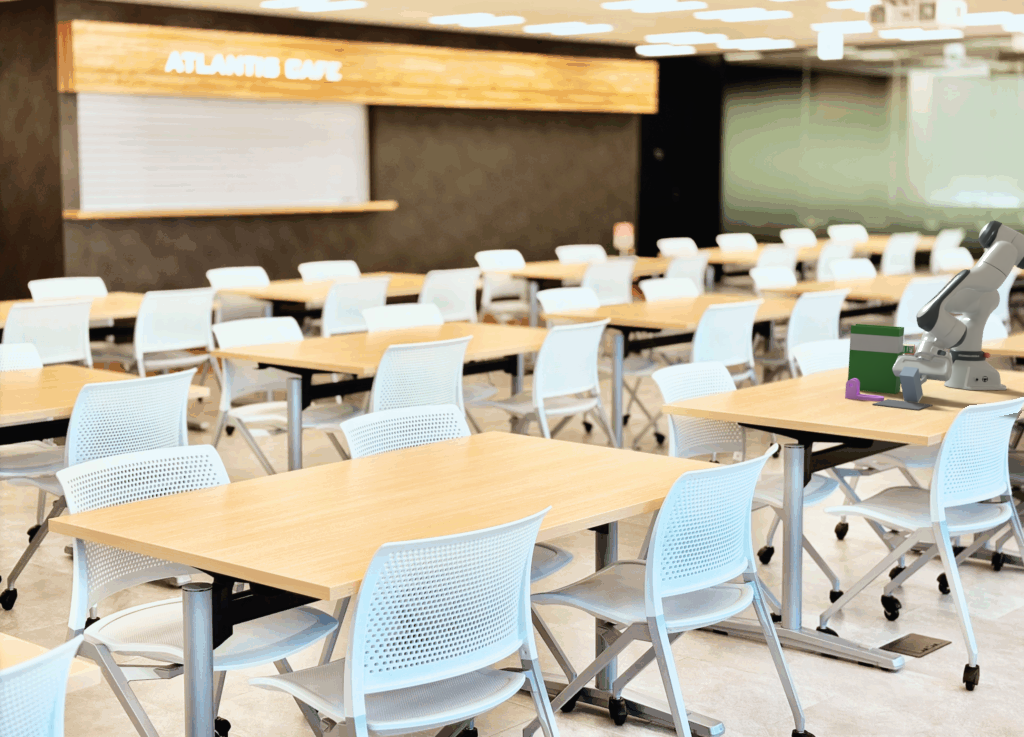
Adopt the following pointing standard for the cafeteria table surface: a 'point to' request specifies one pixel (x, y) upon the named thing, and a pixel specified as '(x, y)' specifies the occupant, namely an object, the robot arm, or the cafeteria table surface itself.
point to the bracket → (858, 392)
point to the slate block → (911, 384)
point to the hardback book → (875, 357)
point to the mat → (902, 404)
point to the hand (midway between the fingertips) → (915, 386)
